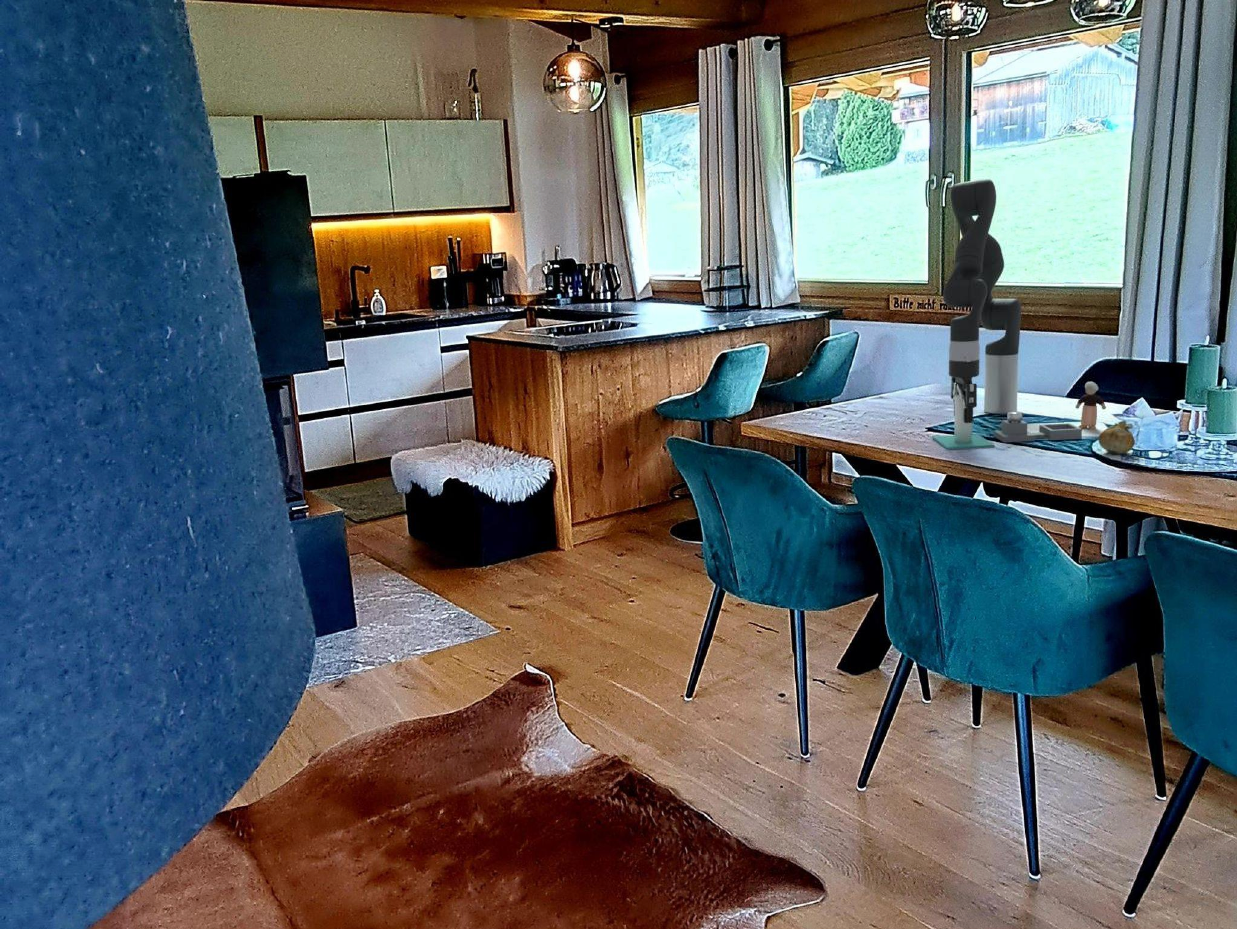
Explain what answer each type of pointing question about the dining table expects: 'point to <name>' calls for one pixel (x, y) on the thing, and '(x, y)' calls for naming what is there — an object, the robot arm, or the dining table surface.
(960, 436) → the cylinder
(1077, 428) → the dock
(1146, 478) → the dining table surface
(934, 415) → the dining table surface
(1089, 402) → the grandmother figurine
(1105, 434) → the onion
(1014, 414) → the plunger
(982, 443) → the mat
